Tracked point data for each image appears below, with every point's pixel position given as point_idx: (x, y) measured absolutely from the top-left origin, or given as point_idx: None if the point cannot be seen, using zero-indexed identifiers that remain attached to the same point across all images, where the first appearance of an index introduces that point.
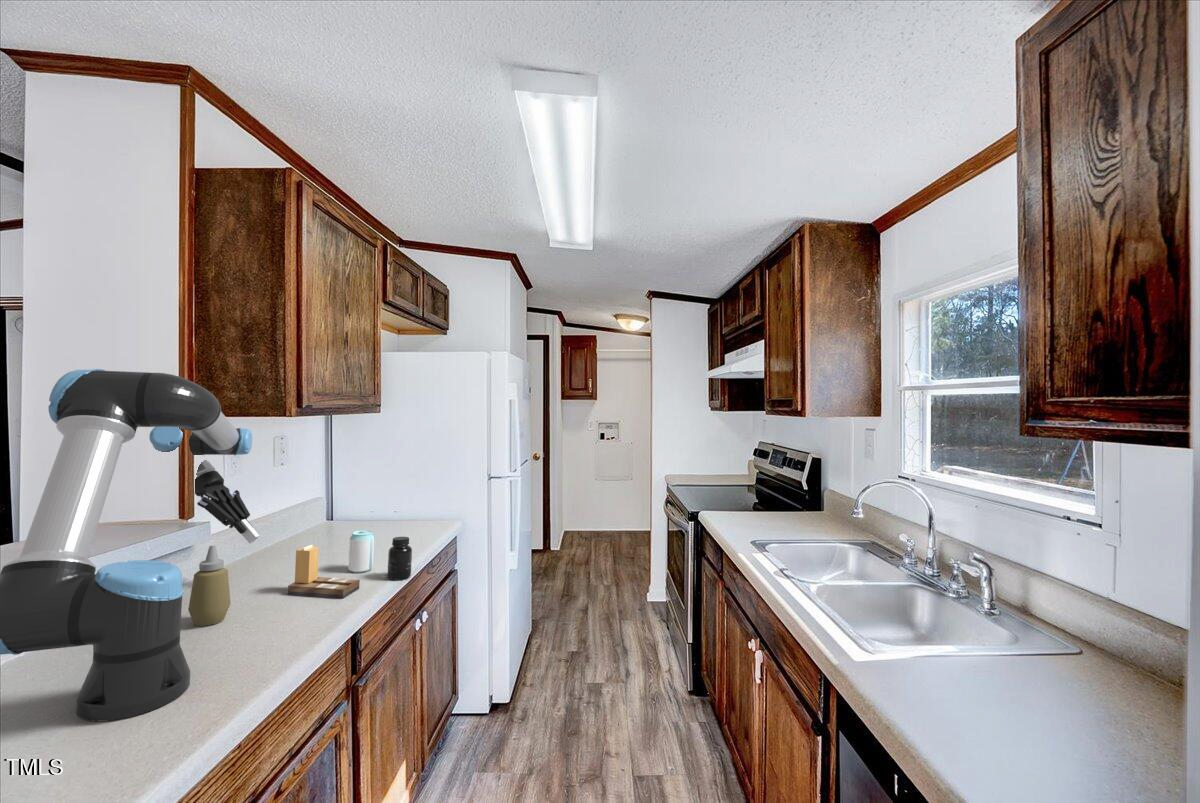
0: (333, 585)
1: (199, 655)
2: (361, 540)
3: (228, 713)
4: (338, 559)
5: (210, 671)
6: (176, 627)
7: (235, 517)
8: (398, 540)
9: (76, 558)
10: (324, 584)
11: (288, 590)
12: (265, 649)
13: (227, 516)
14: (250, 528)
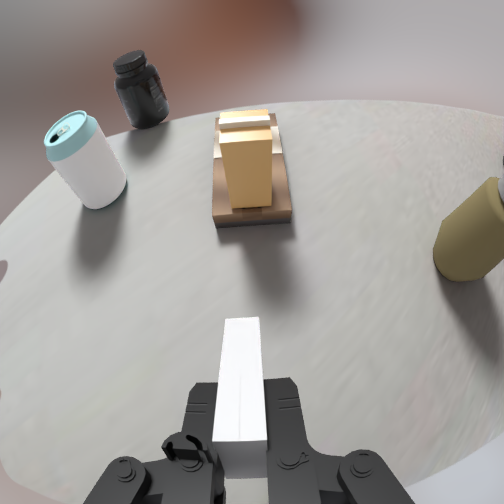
0: None
1: None
2: (96, 122)
3: (489, 116)
4: (37, 281)
5: (488, 156)
6: None
7: (307, 479)
8: (144, 53)
9: None
10: None
11: (290, 215)
12: (443, 134)
13: (395, 491)
14: (245, 363)
